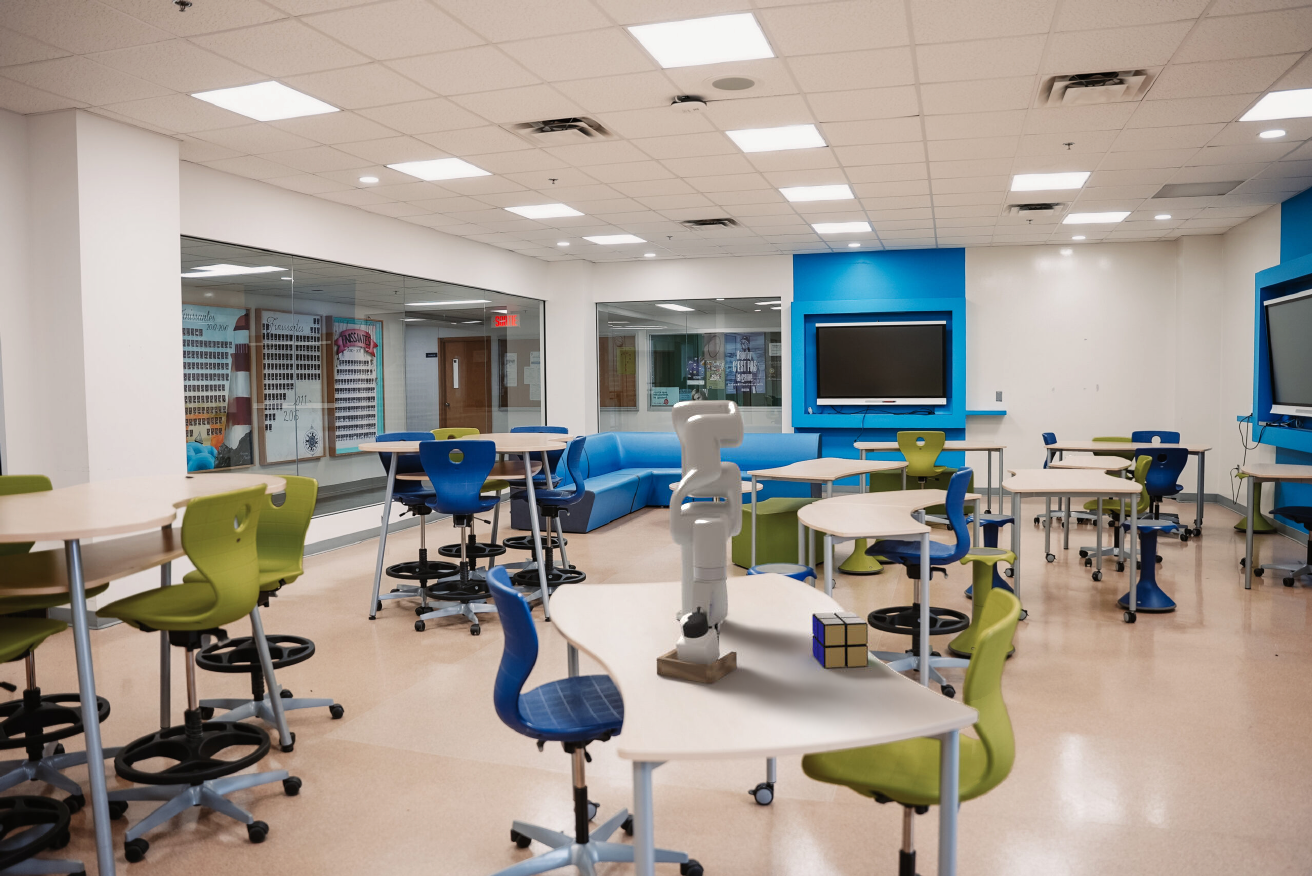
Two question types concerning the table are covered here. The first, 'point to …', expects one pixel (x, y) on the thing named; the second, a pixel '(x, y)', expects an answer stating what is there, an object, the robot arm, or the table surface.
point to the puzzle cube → (840, 640)
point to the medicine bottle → (697, 640)
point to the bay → (695, 667)
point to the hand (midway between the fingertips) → (711, 652)
